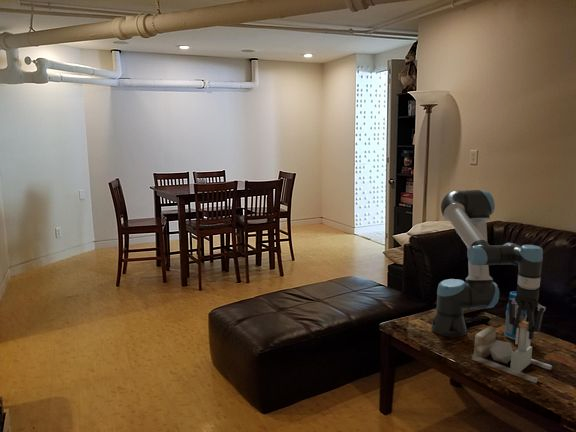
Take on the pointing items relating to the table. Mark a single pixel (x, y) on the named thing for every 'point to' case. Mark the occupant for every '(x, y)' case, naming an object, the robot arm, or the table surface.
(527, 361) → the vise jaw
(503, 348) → the die
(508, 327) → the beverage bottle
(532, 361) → the vise bed
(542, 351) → the table surface
